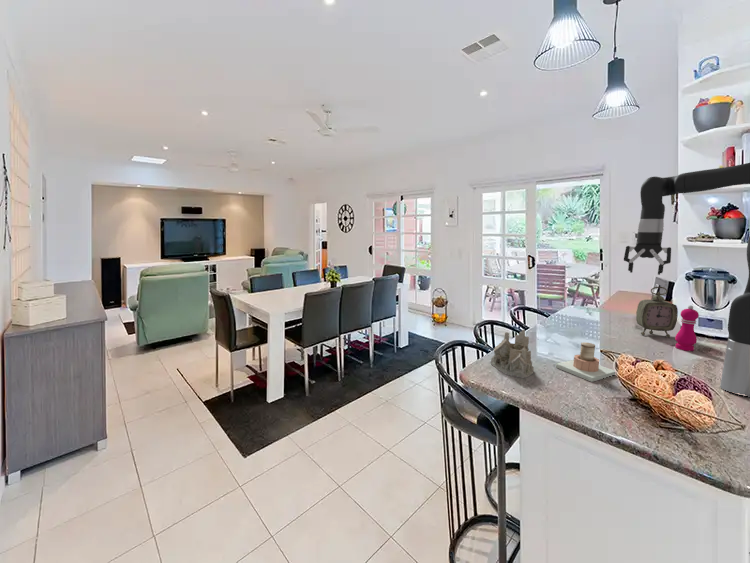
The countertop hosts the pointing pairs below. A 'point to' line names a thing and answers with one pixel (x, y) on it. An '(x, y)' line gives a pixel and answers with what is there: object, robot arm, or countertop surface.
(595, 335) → the countertop surface
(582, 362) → the flat grey base plate
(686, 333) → the pepper mill
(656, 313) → the tabletop clock
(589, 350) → the birch plug
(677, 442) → the countertop surface
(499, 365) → the grey-brown toy castle
